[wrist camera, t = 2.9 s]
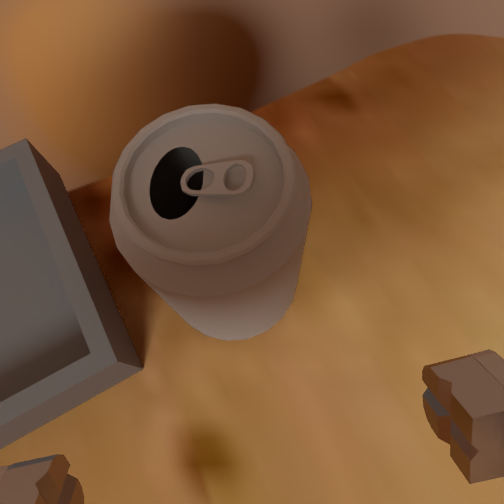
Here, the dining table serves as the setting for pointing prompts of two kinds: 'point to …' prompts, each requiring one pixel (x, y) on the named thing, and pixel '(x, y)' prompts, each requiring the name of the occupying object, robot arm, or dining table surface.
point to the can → (213, 217)
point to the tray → (50, 302)
